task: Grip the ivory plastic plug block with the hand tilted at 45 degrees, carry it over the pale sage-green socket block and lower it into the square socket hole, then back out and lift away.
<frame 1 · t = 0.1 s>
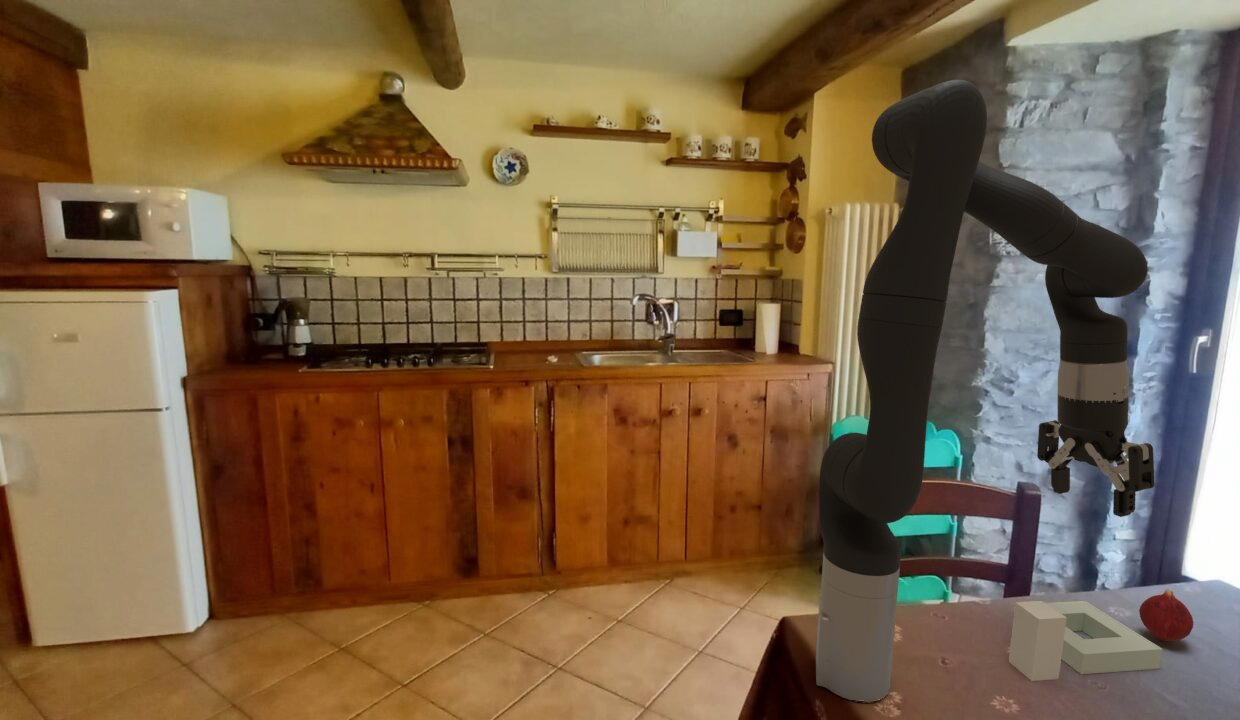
hand: (1090, 503, 81), 22 cm above the table, tool pointing down, fingers open, 8 cm apart
plug: (1033, 670, 80), on the table
socket: (1081, 644, 85), on the table
onion: (1162, 641, 86), on the table
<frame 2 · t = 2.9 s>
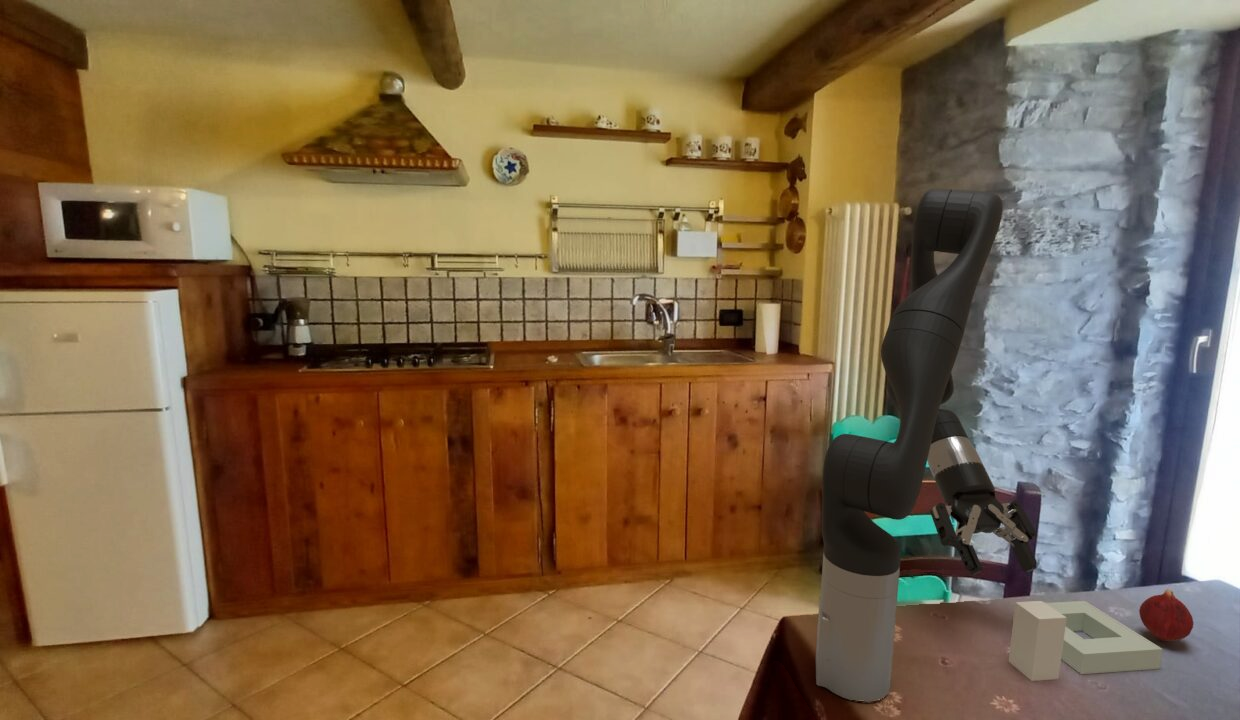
hand: (1004, 571, 85), 11 cm above the table, tool tilted 45°, fingers open, 8 cm apart
nothing on the table moved.
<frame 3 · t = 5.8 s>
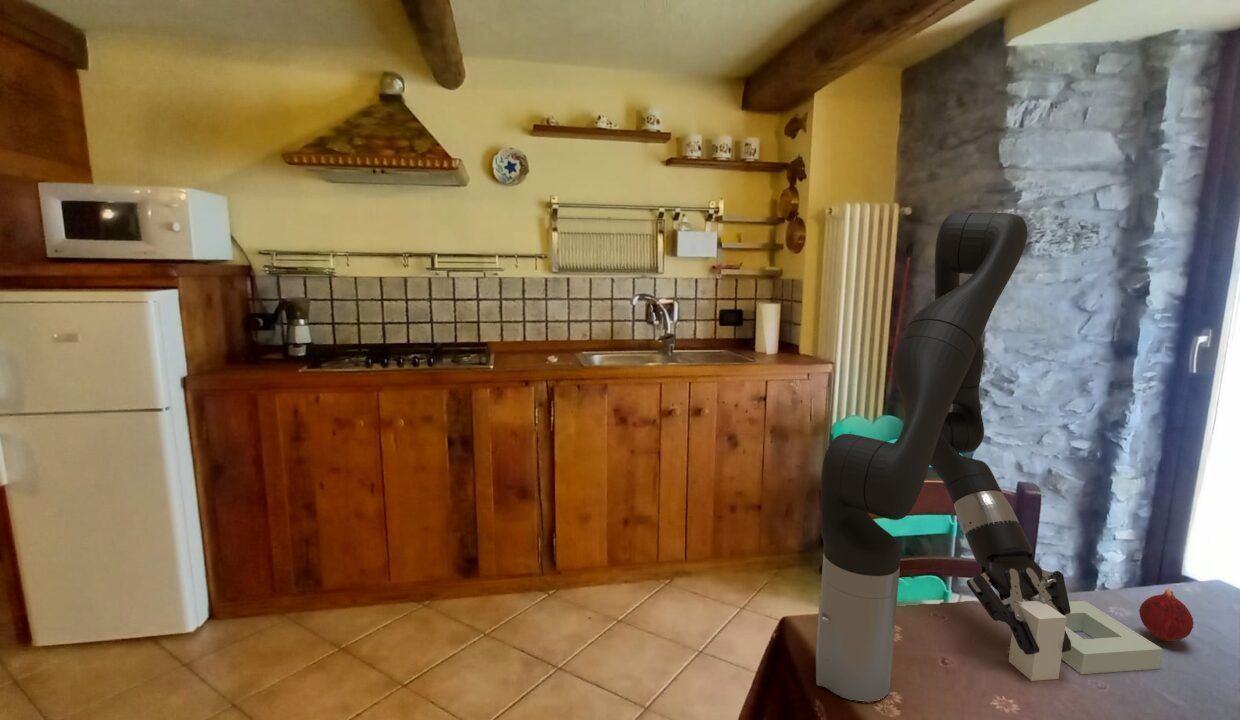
hand: (1048, 651, 77), 4 cm above the table, tool tilted 45°, fingers closed on plug, 4 cm apart
plug: (1033, 669, 80), on the table, touching gripper
everything else where it was.
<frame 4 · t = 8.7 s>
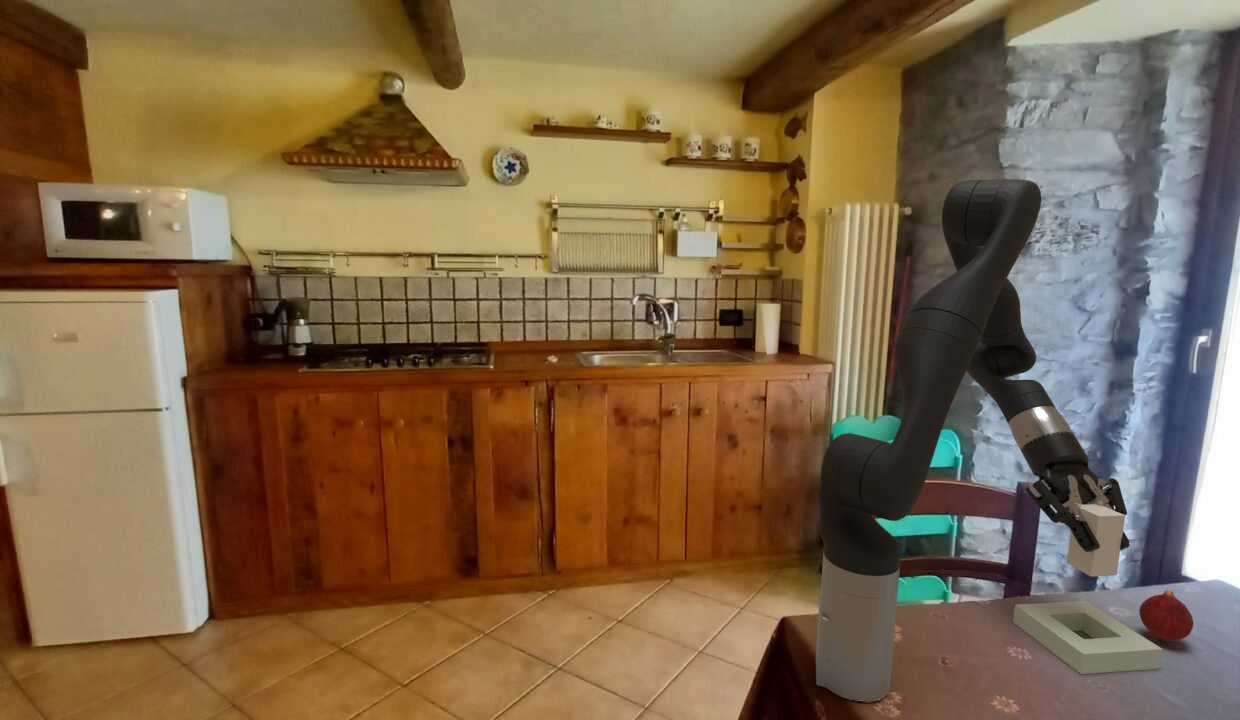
hand: (1107, 548, 81), 16 cm above the table, tool tilted 45°, fingers closed on plug, 4 cm apart
plug: (1091, 568, 84), point 12 cm above the table, touching gripper
everything else where it was.
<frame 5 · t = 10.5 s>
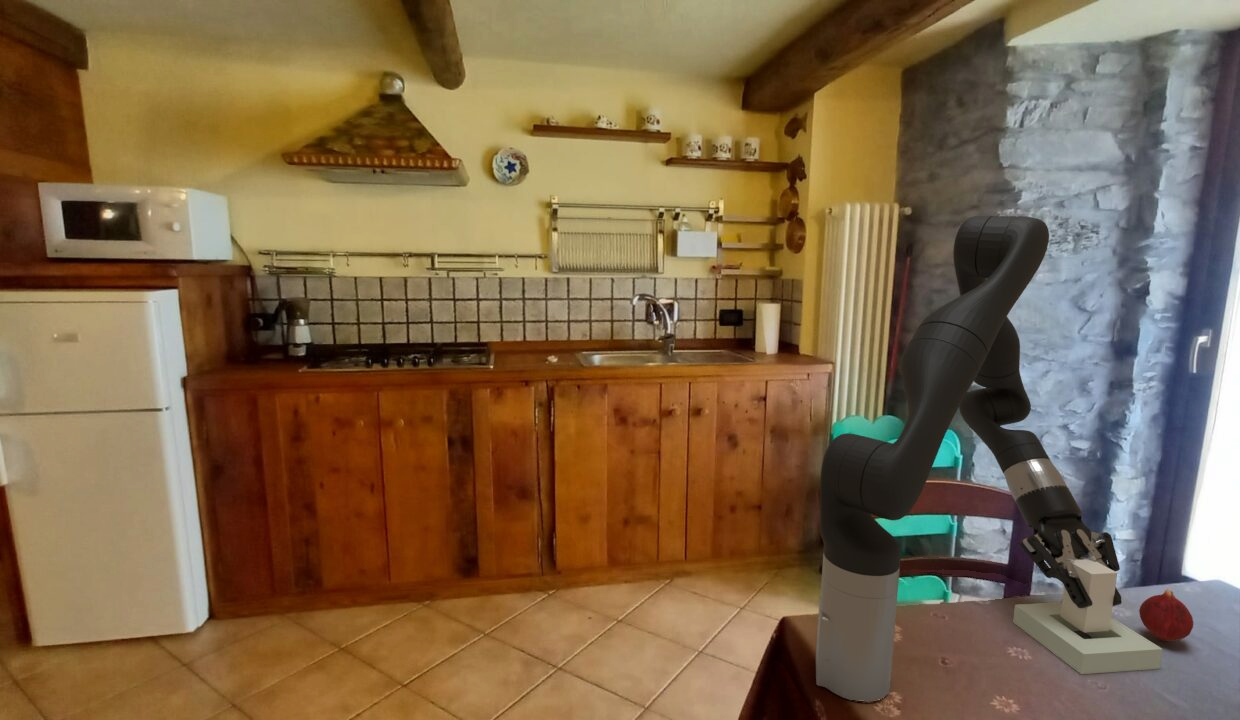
hand: (1100, 605, 82), 7 cm above the table, tool tilted 45°, fingers closed on plug, 4 cm apart
plug: (1084, 623, 85), point 3 cm above the table, touching gripper
everything else where it was.
when the fingers open (5 cm above the table, at t = 11.9 s): plug stays where it is, resting in socket.
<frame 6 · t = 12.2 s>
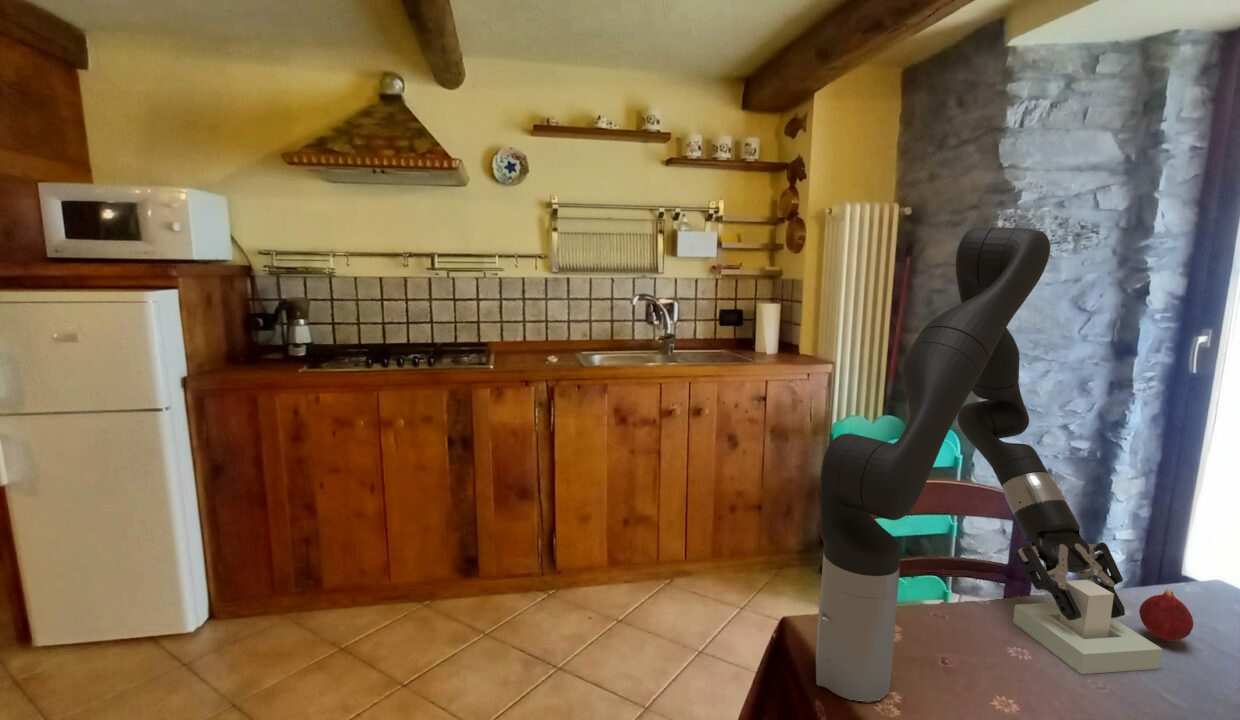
hand: (1096, 617, 83), 5 cm above the table, tool tilted 45°, fingers open, 6 cm apart
plug: (1081, 643, 85), resting in socket
everything else where it was.
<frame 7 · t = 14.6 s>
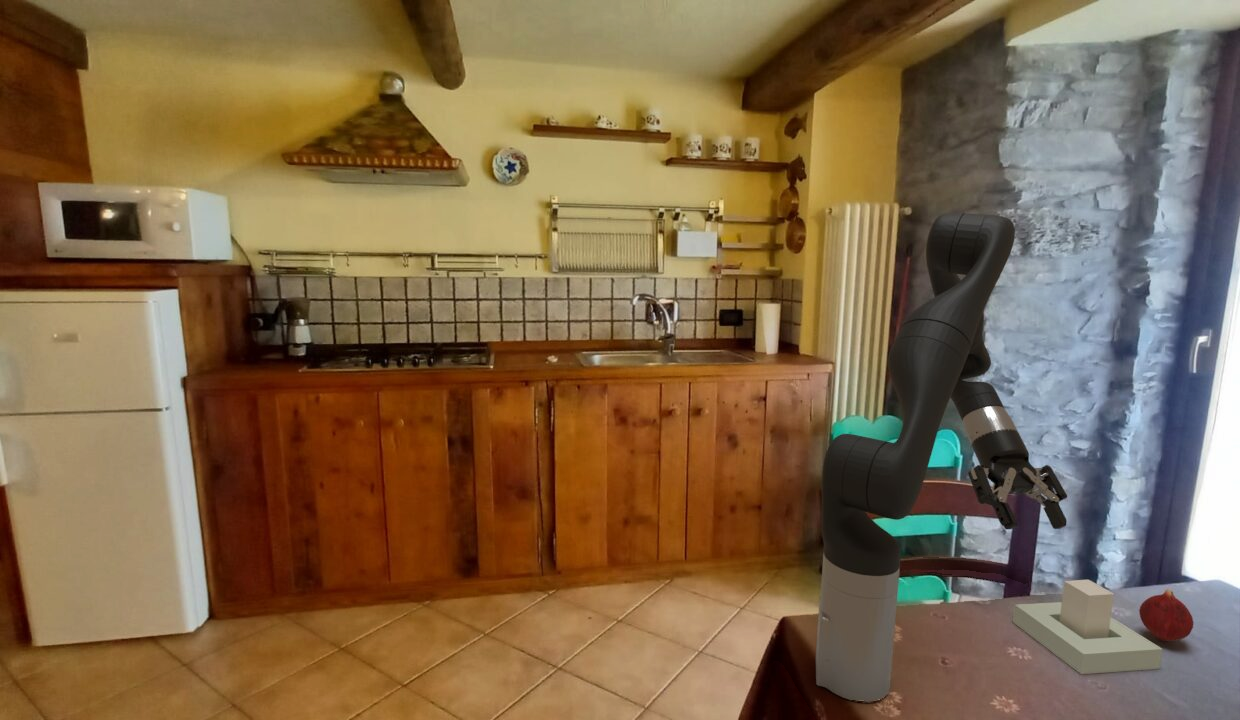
hand: (1036, 527, 92), 14 cm above the table, tool tilted 45°, fingers open, 8 cm apart
nothing on the table moved.
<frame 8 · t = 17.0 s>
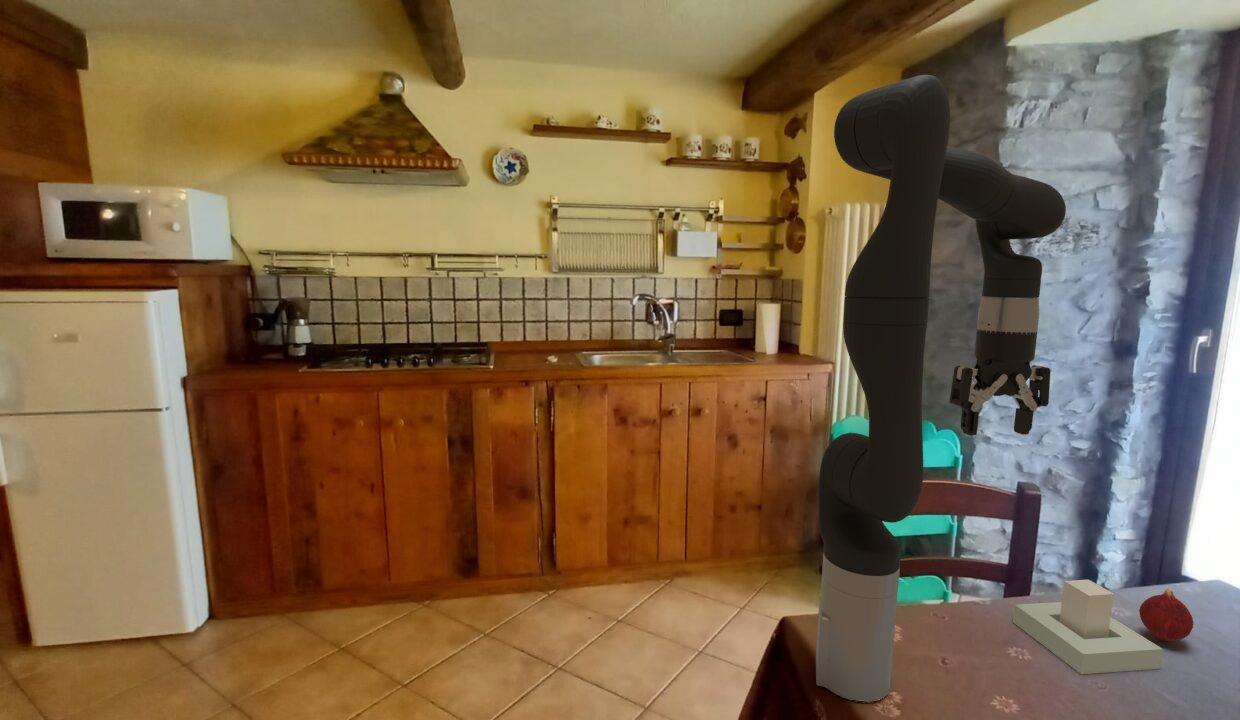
hand: (995, 433, 88), 30 cm above the table, tool pointing down, fingers open, 8 cm apart
nothing on the table moved.
at the end: plug 0.1 cm off-centre on the socket, point 0.0 cm above the socket's base; plug tilted 0°; the gripper is holding nothing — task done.
